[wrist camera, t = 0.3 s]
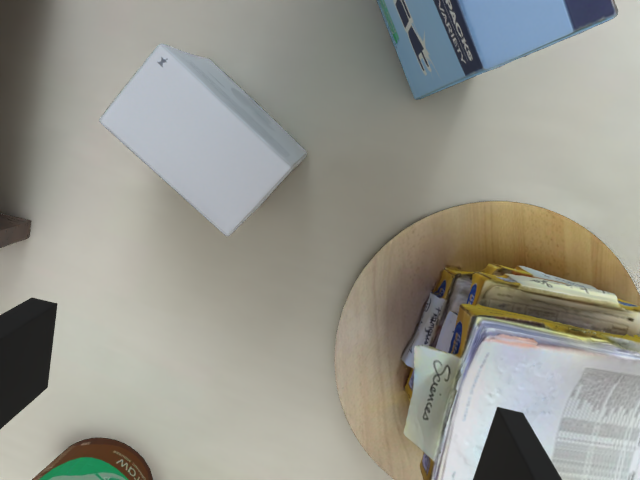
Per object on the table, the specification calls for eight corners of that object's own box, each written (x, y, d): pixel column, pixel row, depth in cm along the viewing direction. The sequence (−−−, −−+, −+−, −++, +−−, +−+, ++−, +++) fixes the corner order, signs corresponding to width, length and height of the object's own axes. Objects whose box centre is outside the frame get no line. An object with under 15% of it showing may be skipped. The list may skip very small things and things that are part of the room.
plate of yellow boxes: (429, 145, 41) (480, 161, 25) (706, 291, 42) (928, 397, 26) (287, 402, 46) (253, 553, 30) (536, 525, 48) (632, 734, 31)
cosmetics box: (156, 121, 42) (92, 121, 32) (209, 57, 41) (161, 36, 30) (255, 212, 43) (225, 241, 33) (309, 153, 42) (296, 164, 32)
